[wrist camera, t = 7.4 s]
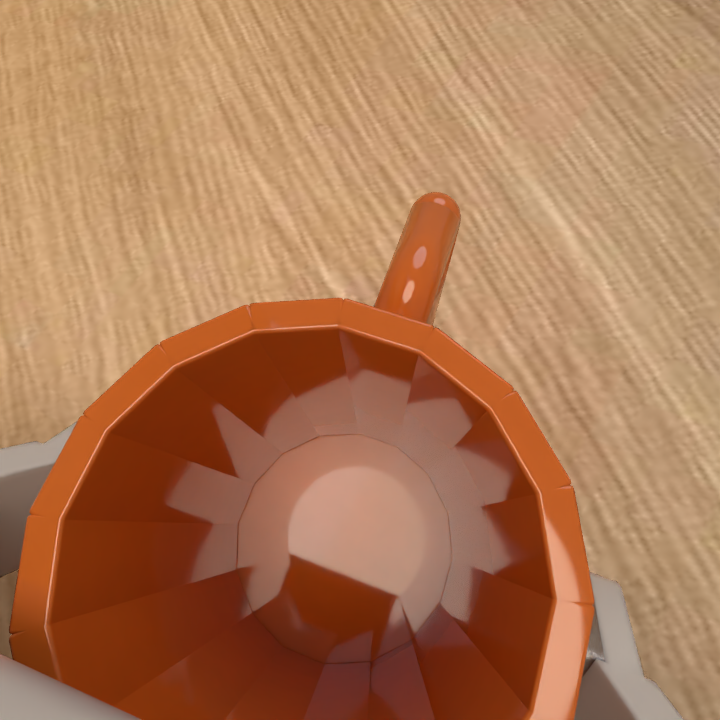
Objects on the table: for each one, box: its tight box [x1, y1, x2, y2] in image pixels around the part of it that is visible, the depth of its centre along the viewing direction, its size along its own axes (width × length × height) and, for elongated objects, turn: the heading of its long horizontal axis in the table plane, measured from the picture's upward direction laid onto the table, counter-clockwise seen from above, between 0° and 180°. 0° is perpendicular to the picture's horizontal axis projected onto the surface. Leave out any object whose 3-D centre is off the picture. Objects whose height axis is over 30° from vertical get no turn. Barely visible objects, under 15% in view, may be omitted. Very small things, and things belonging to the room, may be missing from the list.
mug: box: [9, 192, 594, 720], centre depth 10 cm, size 9×6×8 cm
